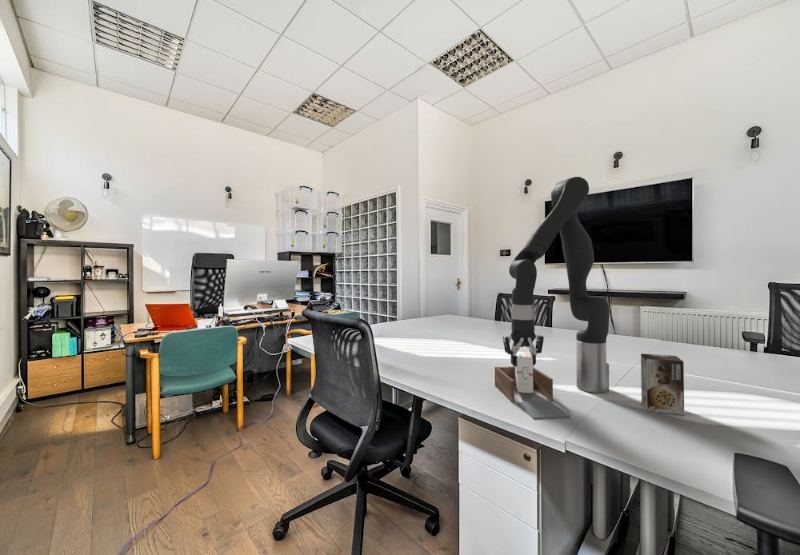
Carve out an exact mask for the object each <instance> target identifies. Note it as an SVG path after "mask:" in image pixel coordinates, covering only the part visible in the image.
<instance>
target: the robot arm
mask: <svg viewBox="0 0 800 555" xmlns="http://www.w3.org/2000/svg"><path fill="white" fill-rule="evenodd" d="M589 192H590V186H589V182H588V181H587V179H585V178H583V177H581V176H572V177H569V178H565V179H564V180H561V181H559V182H557V183H555V184H554V185H553V186H552V188H551V191H550V199H551V203H552V207H553V209H552V210H551V211H550V213H549V214H548V215H547V216H546V217H545V218H543V220H542V221H541V223H539V224H538V226H537V227H536V228H535V229H534V230H533V232H532V233H531V235H530V237H529V238H528V240H527V241H526V243H525V245H524V247H523V248H522V249H521V250H520V251H519V252H518V253H517V255H516V256H515V257H514V258H513V260H512V261H511V263H510V265H509V267H508V272H509V276H510V277H511V278H513V279H515V286H514V288H513V289H512V290H511V311H510V312H511V313H510V314H511V316H510V318H511V321H510V322H511V333H510V335H507V336H506V335H503V336H502V341H503V347H504V352H505V353H506V354H507V355H510V364H511V365H512V366H514V367H515V366H517V356H516V354H517V352H519V351H520V349H521V348H524V347H525V348H527V350H528V349H529V347H530V348H531V350H532V357H533V367H535V365H536V364H537V355H538V354H541V353H542V352H543V346H544V341H545V340H544V339H545V337H544V335H542V334H536V333H535V326H536V325H535V319H536V318H535V316H536V315H535V305H534V301H535V300H534V296H535V295H534V291H535V287H536V282H537V277H538V276H537V275H538V271H537V266H536V264H535V263H536V262H537V261H538V260H539V259H542V258H543V257H544V256H545V254H546V253H547V251H548V250H549V248H550V246H551V244H552V243H553V241H554V240H555V238H556V236H557V235H558V233H559V235H560V239H561V244H562V245H561V246H562V251H563V252H562V253H563V258H564V262H565V267H566V275H567V280H568V290H569V304H570V306H569V307H570V310H571V314H572V316H573V318H575V319H576V320H578V321H582V322H587V326H586V327H587V328H585V329H584V330H579V331H576V335H575V336H576V337H575V338H576V340H575V341H576V347H575V348H576V351H575V352H576V382H575V383H576V388H578V389H580V390H582V391H584V392H588V393H595V394H601V393H606V392H609V391H610V364H609V363H607V337H608V336H609V335H608V334H609V329H610V328H609V326H610V325H609V324H610V315H611V314H610V311H611V310H610V306H609V303H608V300H606V298H605V297H602V296H590V295H589V294H588V289H587V280H588V276H589V274H590V273H591V270H592V268H593V266H594V261H595V254H594V248H593V243H592V239H591V237H590V236H589V234H588V232H587V231H586V229H585V228H584V226H583V224H582V223H581V222H580V219H579V217H578V214H577V209H578V208H579V207H581V205H582V203H583V202H584V201H585V200H586V199H587V197H588V195H589ZM511 340H512V341H513V342H512V345H510V343H511ZM534 341H535V345H534V343H533V342H534ZM529 351H530V350H529Z"/></svg>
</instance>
